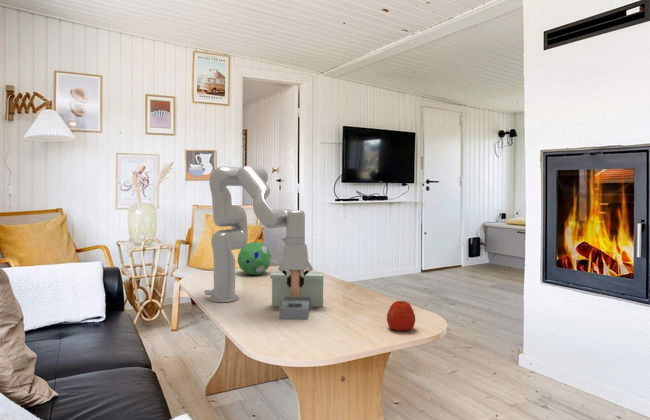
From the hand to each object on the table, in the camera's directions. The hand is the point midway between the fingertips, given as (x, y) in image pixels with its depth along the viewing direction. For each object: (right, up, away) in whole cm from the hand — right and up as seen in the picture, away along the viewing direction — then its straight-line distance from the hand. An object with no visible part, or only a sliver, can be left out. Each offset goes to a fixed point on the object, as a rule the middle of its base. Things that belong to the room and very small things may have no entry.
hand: (295, 286), depth 174 cm
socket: (0, -12, +4) cm, 12 cm away
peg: (0, -4, 0) cm, 4 cm away
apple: (+39, -13, -15) cm, 44 cm away
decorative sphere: (-29, -7, +81) cm, 87 cm away
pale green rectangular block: (0, -11, +11) cm, 16 cm away
